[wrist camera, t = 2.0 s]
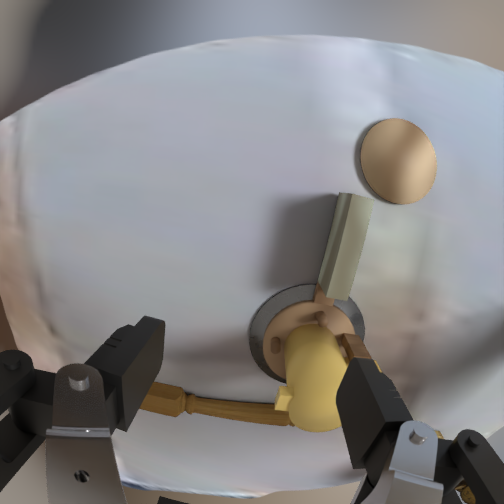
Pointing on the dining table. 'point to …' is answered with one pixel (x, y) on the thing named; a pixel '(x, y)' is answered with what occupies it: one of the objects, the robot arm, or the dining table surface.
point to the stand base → (283, 301)
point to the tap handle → (210, 406)
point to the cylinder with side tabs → (312, 378)
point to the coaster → (398, 161)
